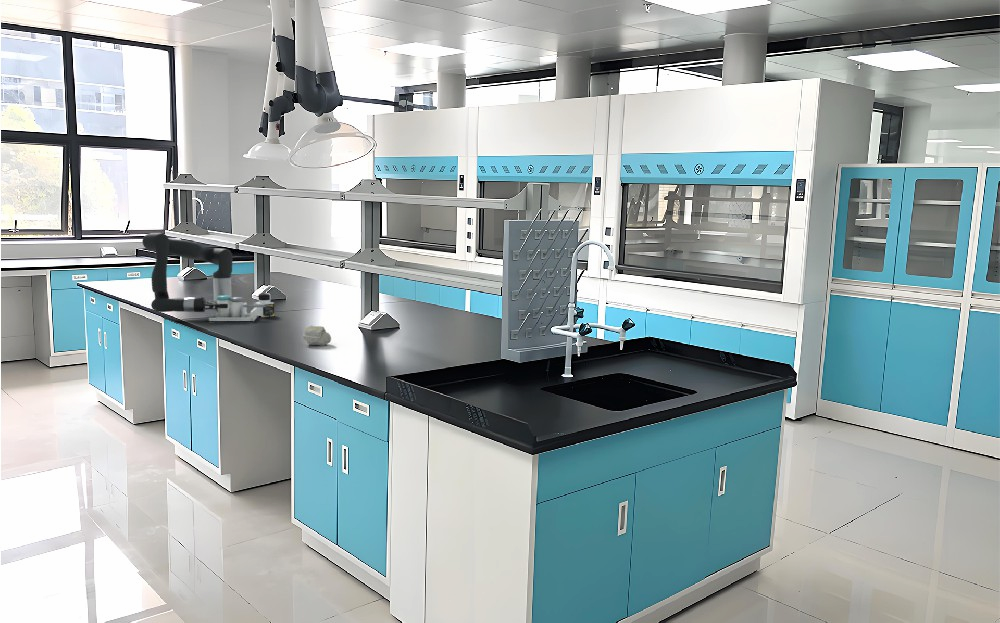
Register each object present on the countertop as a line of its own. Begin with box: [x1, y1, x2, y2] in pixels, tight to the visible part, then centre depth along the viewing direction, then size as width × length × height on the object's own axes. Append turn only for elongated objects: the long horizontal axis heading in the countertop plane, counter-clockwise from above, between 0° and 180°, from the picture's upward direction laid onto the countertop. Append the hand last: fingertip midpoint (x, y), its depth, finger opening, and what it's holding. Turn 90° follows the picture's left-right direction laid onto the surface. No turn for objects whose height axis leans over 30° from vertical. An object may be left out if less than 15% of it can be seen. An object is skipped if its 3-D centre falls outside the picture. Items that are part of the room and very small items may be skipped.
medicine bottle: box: [254, 292, 275, 318], centre depth 403 cm, size 7×7×12 cm
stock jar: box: [230, 296, 244, 317], centre depth 390 cm, size 6×6×11 cm
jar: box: [217, 295, 230, 317], centre depth 389 cm, size 6×6×11 cm
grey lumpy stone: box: [302, 325, 332, 347], centre depth 336 cm, size 12×8×10 cm
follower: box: [241, 302, 265, 317], centre depth 392 cm, size 10×11×8 cm
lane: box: [208, 307, 258, 322], centre depth 391 cm, size 16×21×5 cm
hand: (228, 305), depth 389 cm, fingers closed on jar, 6 cm apart
